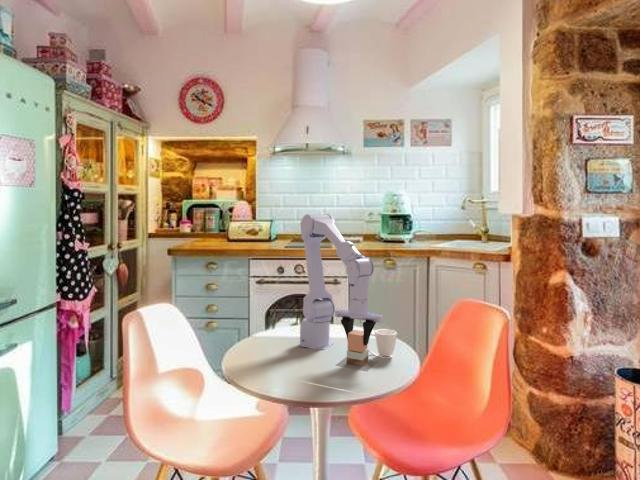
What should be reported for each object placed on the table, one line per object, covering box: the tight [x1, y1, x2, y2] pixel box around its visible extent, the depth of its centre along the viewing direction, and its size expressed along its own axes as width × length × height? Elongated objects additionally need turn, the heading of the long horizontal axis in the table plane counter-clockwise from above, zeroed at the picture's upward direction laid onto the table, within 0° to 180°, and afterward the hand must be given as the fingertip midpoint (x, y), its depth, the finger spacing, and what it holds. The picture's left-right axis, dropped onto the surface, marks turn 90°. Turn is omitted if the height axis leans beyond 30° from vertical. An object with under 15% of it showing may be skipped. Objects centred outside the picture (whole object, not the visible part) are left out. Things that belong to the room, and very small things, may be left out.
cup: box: [367, 328, 398, 359], centre depth 150 cm, size 7×10×8 cm
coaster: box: [335, 356, 379, 372], centre depth 143 cm, size 10×10×1 cm
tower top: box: [346, 349, 369, 360], centre depth 143 cm, size 5×5×2 cm
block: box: [347, 329, 368, 352], centre depth 142 cm, size 4×4×5 cm
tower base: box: [346, 355, 369, 367], centre depth 143 cm, size 5×5×2 cm
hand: (357, 343), depth 142 cm, fingers closed on block, 4 cm apart
